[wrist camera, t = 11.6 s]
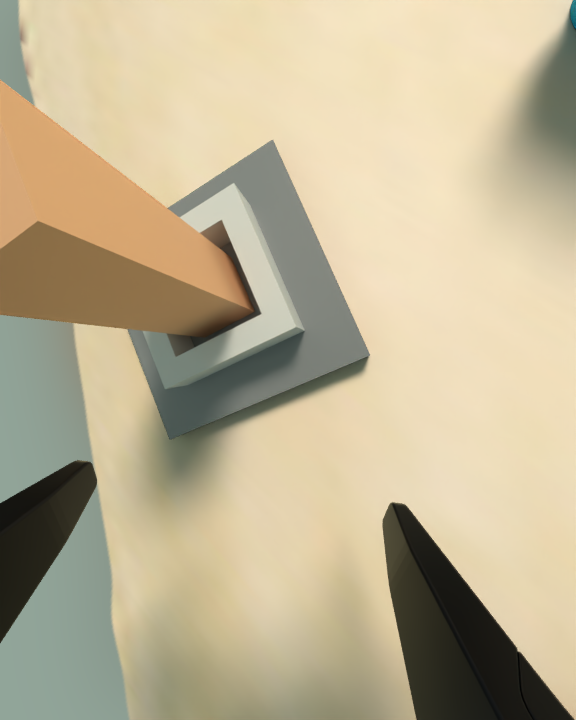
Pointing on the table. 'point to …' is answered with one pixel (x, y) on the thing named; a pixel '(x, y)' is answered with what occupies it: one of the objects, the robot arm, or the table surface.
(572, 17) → the toy
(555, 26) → the table surface
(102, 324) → the tan square peg
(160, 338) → the housing
